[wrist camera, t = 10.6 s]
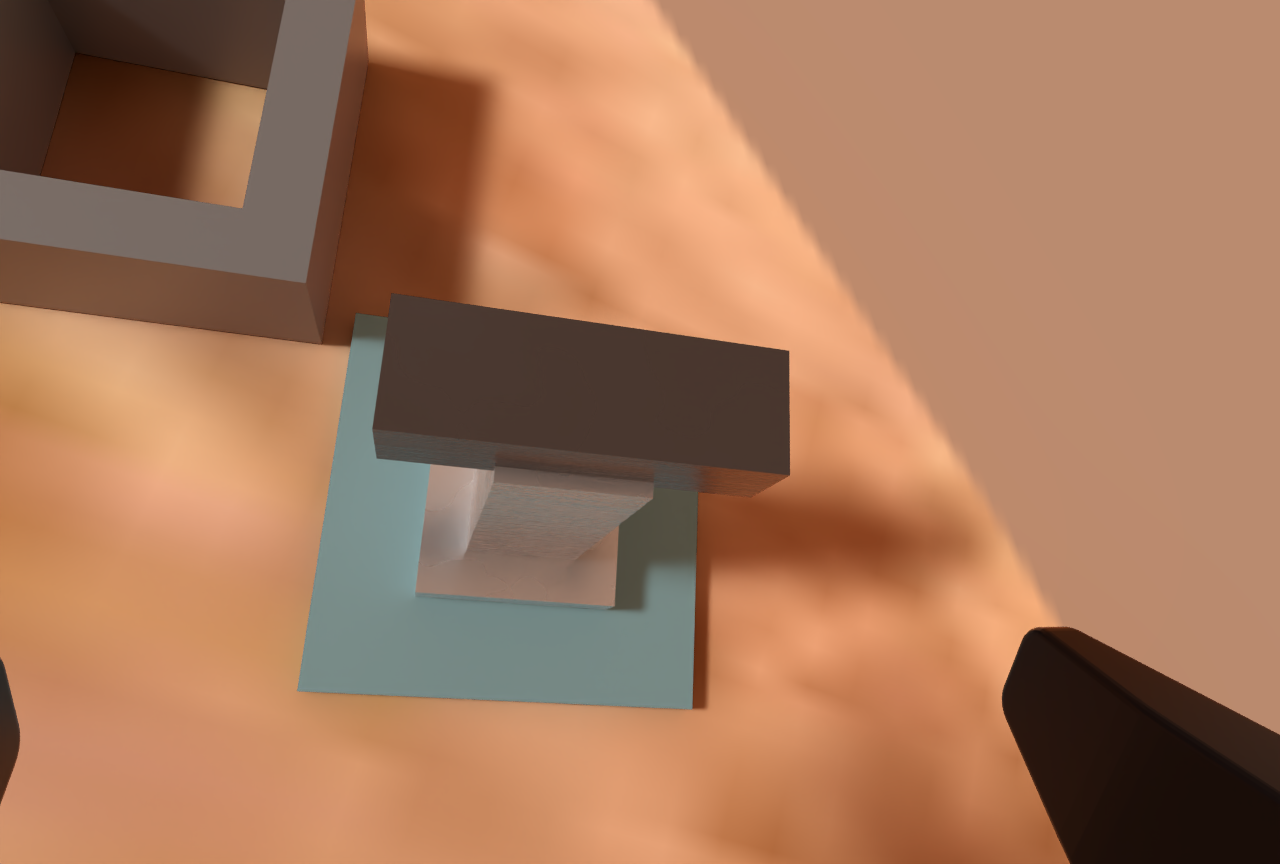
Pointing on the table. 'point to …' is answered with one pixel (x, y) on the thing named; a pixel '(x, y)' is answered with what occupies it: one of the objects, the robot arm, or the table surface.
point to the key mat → (476, 630)
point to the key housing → (171, 227)
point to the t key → (563, 440)
